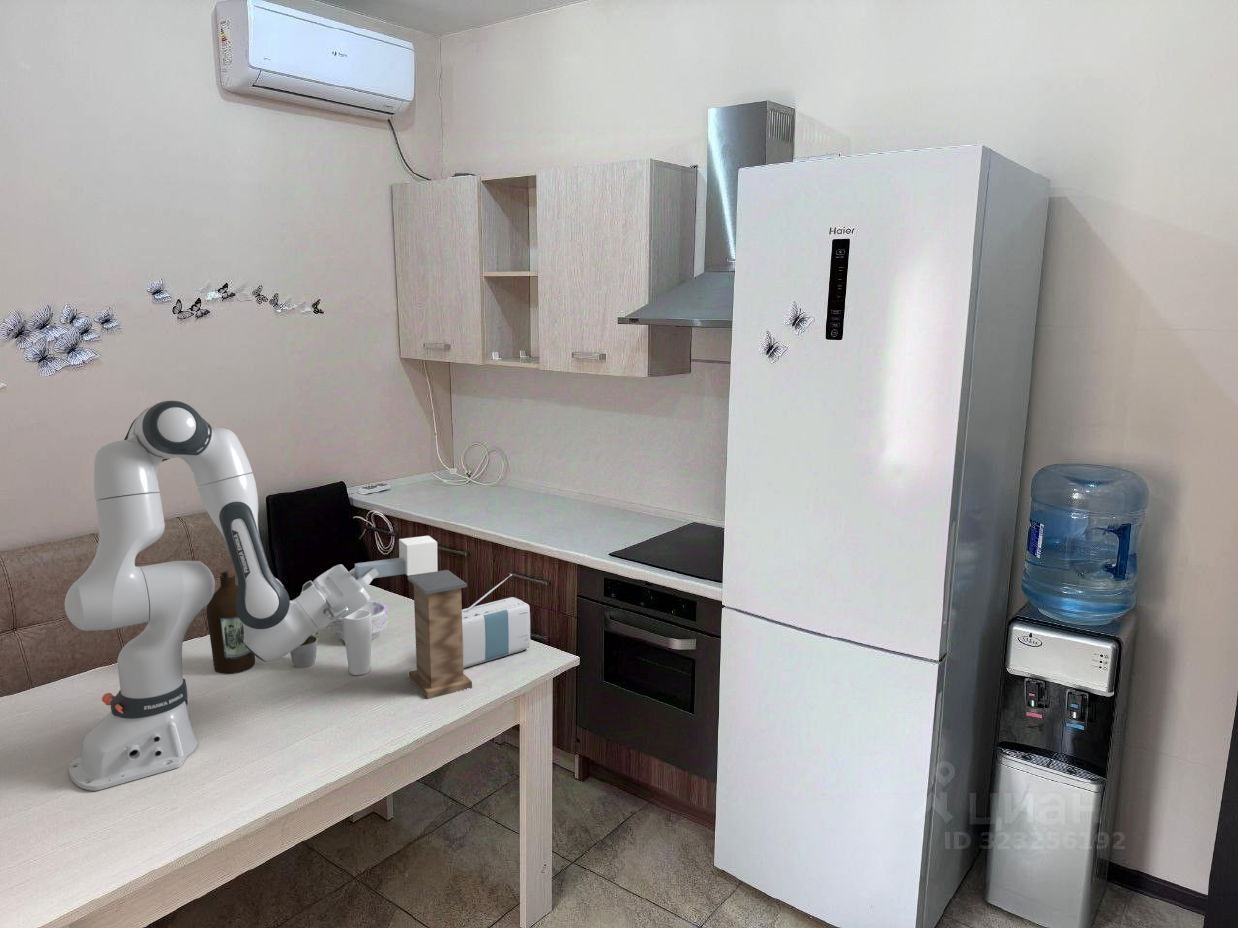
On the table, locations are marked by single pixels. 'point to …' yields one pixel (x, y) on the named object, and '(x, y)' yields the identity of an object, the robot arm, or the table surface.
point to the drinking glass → (358, 641)
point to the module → (405, 559)
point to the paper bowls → (377, 615)
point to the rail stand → (438, 634)
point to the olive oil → (227, 629)
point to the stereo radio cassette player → (494, 629)
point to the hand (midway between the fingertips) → (373, 567)
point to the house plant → (305, 653)
